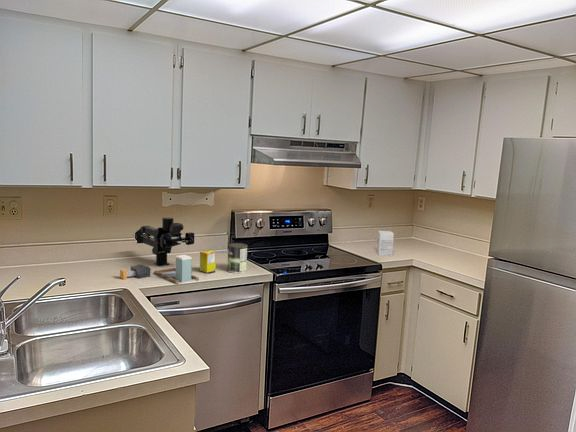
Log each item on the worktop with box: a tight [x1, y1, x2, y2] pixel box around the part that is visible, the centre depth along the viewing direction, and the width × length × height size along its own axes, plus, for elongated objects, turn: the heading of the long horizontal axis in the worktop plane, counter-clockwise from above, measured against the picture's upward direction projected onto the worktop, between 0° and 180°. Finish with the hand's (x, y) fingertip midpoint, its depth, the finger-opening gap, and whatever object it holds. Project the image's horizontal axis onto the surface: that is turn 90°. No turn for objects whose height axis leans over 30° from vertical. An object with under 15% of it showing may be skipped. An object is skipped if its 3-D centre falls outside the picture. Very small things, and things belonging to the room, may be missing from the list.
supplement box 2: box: [376, 230, 395, 257], centre depth 301 cm, size 9×9×15 cm
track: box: [153, 267, 199, 285], centre depth 232 cm, size 22×12×1 cm, turn 43°
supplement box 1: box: [199, 249, 217, 275], centre depth 243 cm, size 6×6×11 cm
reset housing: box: [130, 264, 151, 279], centre depth 231 cm, size 9×6×4 cm, turn 43°
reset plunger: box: [119, 268, 136, 280], centre depth 227 cm, size 4×7×4 cm, turn 133°
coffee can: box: [227, 242, 248, 274], centre depth 247 cm, size 10×10×14 cm
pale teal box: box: [175, 254, 193, 283], centre depth 226 cm, size 6×5×12 cm
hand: (186, 242), depth 234 cm, fingers open, 9 cm apart
